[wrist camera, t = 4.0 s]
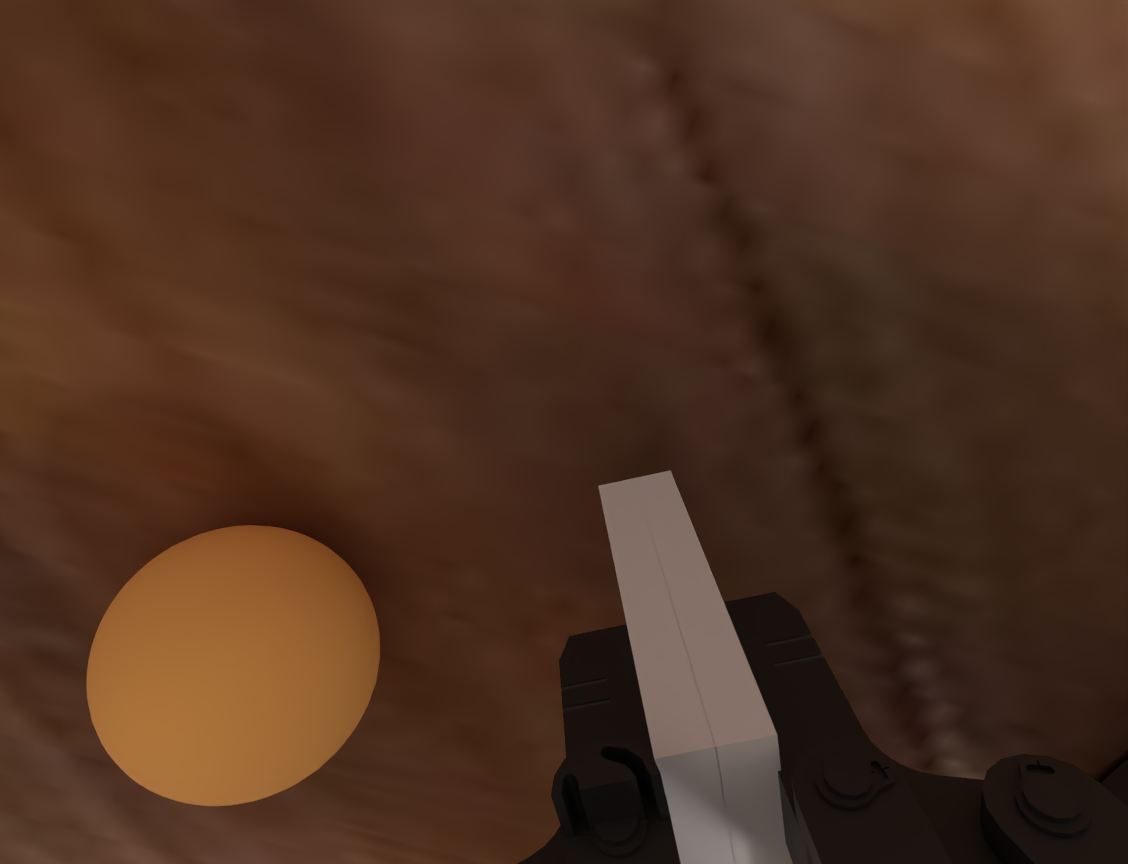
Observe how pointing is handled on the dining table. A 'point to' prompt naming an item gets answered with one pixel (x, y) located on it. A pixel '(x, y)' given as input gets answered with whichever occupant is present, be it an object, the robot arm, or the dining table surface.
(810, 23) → the dining table surface
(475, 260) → the dining table surface
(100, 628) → the ball
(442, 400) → the dining table surface
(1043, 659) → the dining table surface
